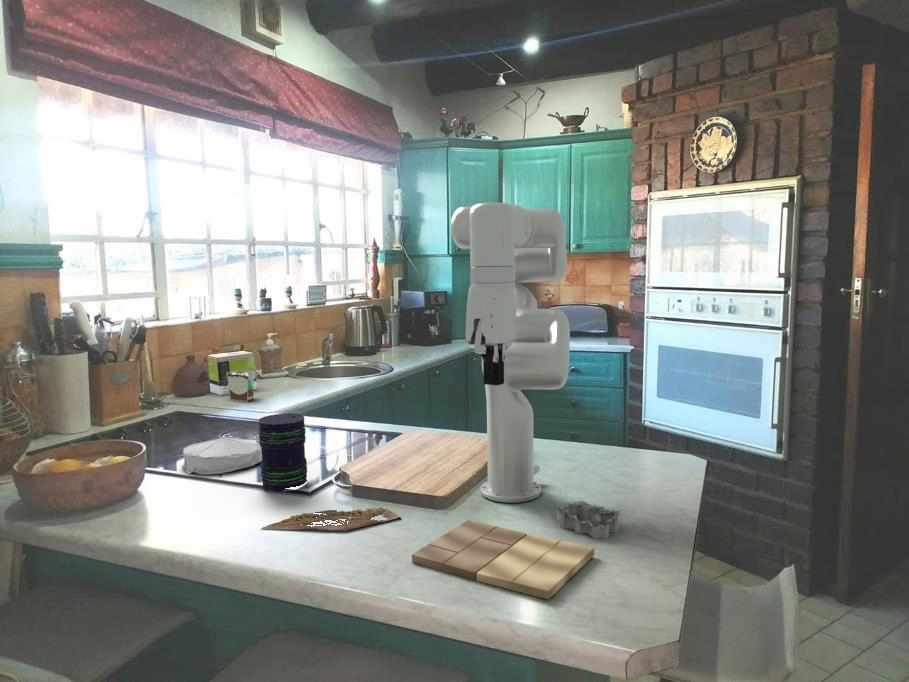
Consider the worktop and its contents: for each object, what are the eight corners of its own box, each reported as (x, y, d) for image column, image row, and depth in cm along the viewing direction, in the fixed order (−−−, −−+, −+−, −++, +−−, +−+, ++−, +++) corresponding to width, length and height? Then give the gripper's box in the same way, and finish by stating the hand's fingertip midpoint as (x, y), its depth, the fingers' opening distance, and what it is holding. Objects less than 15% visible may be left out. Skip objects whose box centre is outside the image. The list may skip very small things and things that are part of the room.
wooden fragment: (400, 508, 132) (400, 503, 132) (402, 531, 121) (402, 525, 121) (267, 517, 129) (267, 511, 129) (257, 540, 118) (256, 534, 118)
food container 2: (264, 399, 241) (262, 371, 240) (250, 402, 236) (249, 374, 234) (240, 396, 247) (239, 369, 246) (227, 399, 242) (225, 372, 241)
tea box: (247, 386, 266) (244, 350, 264) (257, 390, 258) (255, 352, 257) (209, 392, 257) (207, 354, 255) (219, 395, 249) (216, 356, 247)
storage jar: (273, 496, 140) (269, 426, 138) (254, 484, 147) (250, 418, 145) (315, 485, 146) (313, 418, 144) (295, 474, 154) (292, 411, 152)
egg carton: (551, 527, 122) (550, 505, 121) (574, 515, 127) (574, 494, 127) (601, 543, 114) (601, 520, 114) (624, 530, 120) (624, 508, 119)
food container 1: (170, 463, 166) (168, 437, 165) (249, 447, 178) (247, 422, 177) (194, 484, 150) (191, 455, 149) (278, 465, 162) (276, 438, 161)
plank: (528, 540, 115) (528, 533, 115) (594, 554, 108) (594, 547, 108) (476, 580, 101) (476, 572, 101) (548, 599, 94) (548, 590, 94)
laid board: (468, 526, 122) (468, 519, 122) (526, 540, 115) (526, 533, 115) (411, 561, 108) (411, 554, 108) (474, 580, 101) (474, 572, 101)
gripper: (495, 276, 121) (496, 375, 123) (449, 278, 109) (451, 389, 111) (532, 276, 117) (533, 379, 119) (489, 278, 104) (490, 393, 107)
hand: (493, 383), depth 115 cm, fingers closed
